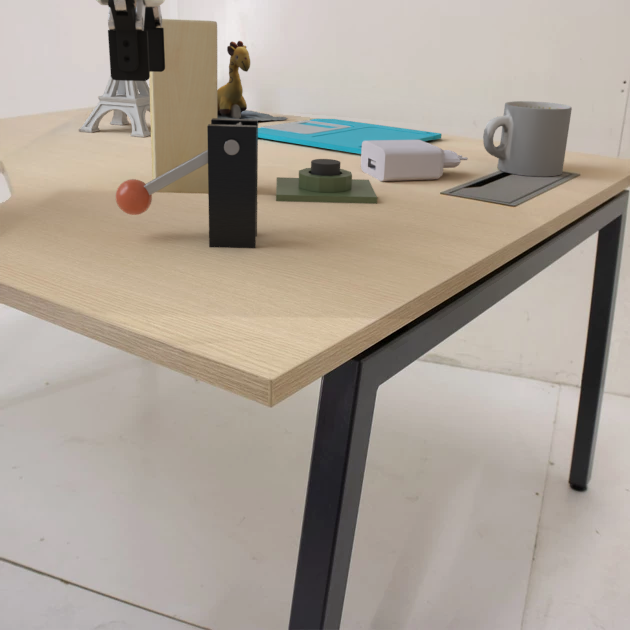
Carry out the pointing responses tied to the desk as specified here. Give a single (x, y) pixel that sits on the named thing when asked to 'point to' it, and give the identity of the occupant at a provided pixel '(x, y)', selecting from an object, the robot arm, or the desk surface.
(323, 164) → the button
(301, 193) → the control block
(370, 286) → the desk surface
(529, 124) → the coffee mug
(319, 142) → the diskette
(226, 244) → the bracket
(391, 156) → the charger
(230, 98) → the stuffed giraffe
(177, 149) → the tall wooden block
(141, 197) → the lever
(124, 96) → the eiffel tower
